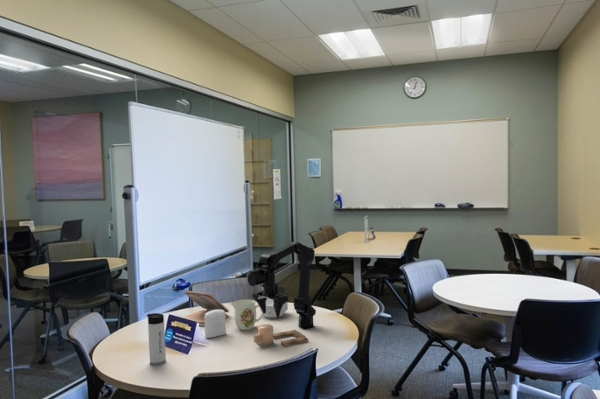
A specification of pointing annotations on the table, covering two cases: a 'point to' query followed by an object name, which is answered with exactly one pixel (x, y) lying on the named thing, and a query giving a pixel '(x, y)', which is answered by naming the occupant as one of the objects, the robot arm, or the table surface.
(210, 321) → the white tombstone
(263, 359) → the table surface
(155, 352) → the travel mug
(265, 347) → the mat
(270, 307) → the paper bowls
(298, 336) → the brown u-shaped piece
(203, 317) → the case
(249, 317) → the pitcher
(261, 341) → the peach rounded canister
